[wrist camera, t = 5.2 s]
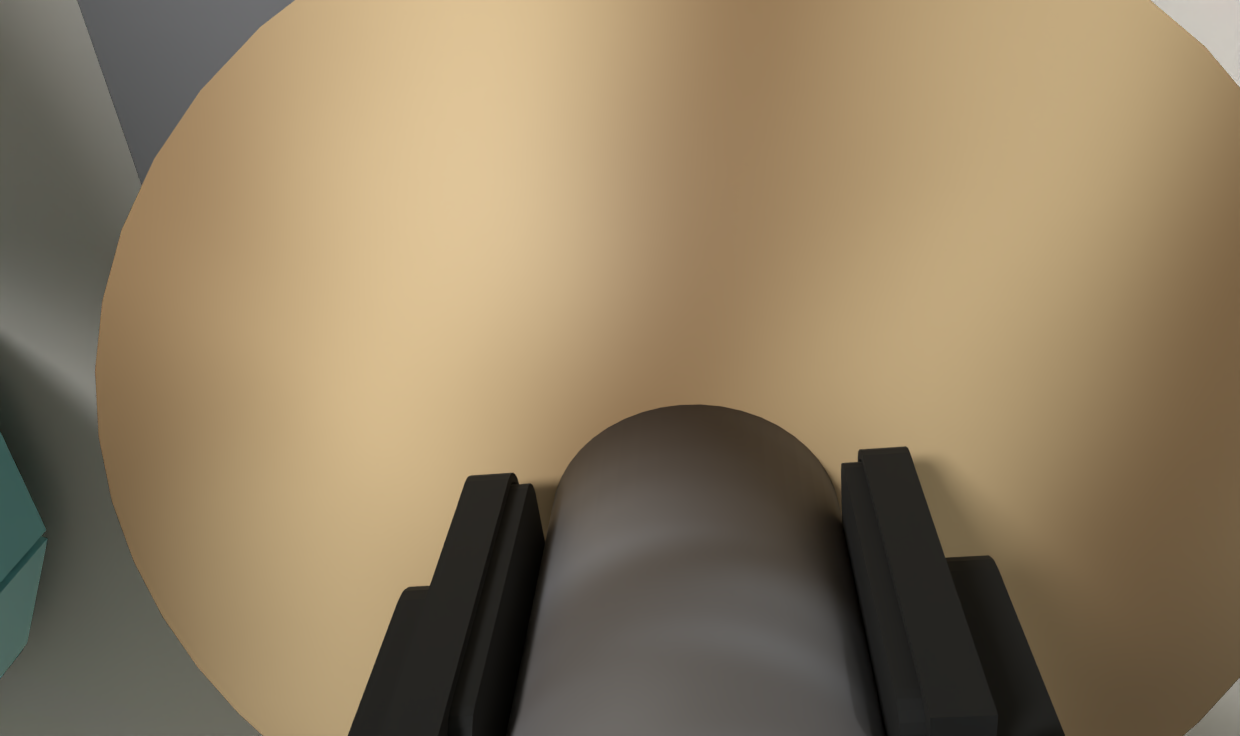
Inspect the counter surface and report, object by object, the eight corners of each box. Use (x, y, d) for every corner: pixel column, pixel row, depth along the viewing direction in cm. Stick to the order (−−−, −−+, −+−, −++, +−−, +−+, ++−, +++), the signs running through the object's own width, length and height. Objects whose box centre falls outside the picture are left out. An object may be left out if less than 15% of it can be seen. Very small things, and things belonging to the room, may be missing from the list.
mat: (1140, -226, 14) (1155, -227, 14) (1055, 636, 22) (1064, 653, 21) (67, -79, 16) (50, -77, 15) (328, 685, 23) (321, 702, 23)
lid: (1449, -251, 9) (2443, -331, 4) (1204, 837, 16) (1447, 1326, 11) (-64, -48, 11) (-762, 85, 6) (307, 857, 18) (148, 1289, 13)
